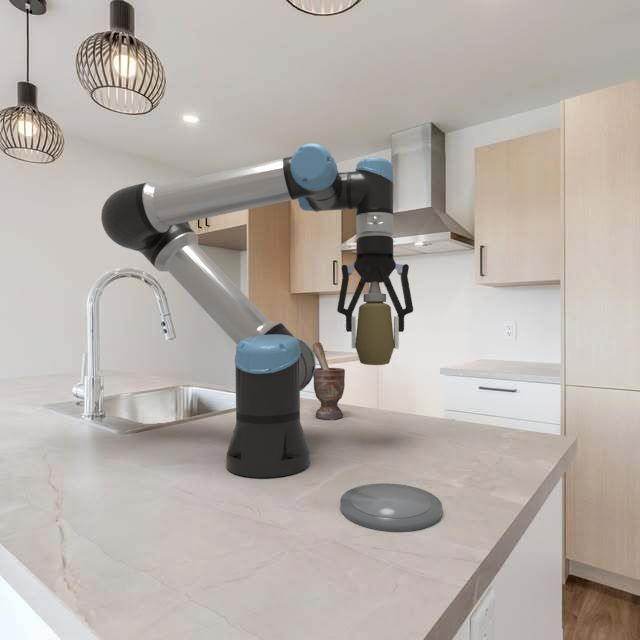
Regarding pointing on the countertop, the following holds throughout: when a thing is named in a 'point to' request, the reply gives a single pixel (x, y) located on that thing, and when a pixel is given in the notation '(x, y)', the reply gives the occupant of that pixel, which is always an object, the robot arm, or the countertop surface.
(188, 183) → the robot arm
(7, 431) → the countertop surface
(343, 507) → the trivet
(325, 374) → the mortar and pestle
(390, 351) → the squeeze bottle
